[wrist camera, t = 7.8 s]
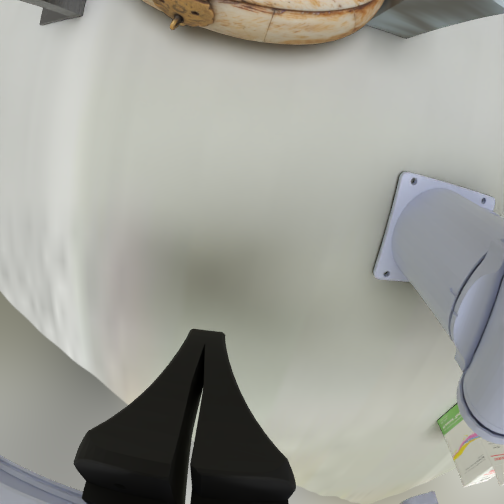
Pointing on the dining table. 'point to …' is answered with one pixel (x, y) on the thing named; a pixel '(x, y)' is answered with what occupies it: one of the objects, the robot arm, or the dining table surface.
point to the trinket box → (273, 18)
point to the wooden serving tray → (430, 14)
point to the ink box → (471, 450)
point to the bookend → (58, 9)
